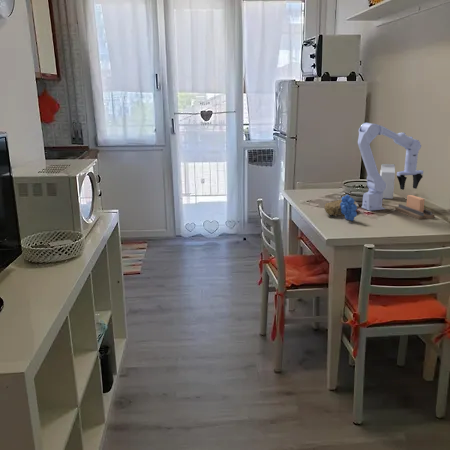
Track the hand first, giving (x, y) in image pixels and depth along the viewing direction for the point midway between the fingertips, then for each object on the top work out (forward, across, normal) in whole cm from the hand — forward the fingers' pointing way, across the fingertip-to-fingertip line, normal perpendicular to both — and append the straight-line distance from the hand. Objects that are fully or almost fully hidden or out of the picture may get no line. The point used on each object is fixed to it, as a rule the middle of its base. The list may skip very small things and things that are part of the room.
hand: (408, 188), depth 242 cm
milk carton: (+10, +2, +22) cm, 24 cm away
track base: (+9, -6, -14) cm, 18 cm away
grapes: (+10, -43, -13) cm, 46 cm away
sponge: (+10, -40, -1) cm, 41 cm away
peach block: (+8, -6, -14) cm, 17 cm away
